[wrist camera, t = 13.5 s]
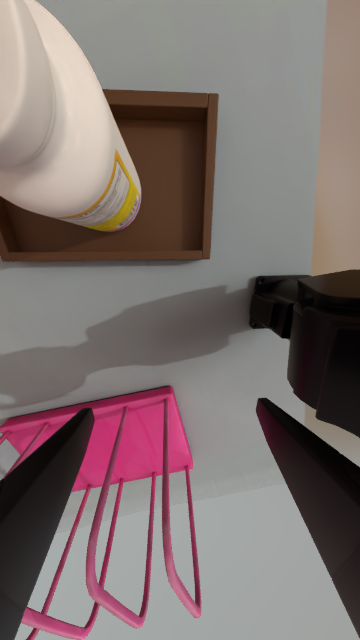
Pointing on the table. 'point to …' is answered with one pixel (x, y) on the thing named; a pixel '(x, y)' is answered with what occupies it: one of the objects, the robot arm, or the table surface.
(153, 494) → the file sorter
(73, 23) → the table surface
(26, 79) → the supplement bottle
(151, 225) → the tray
